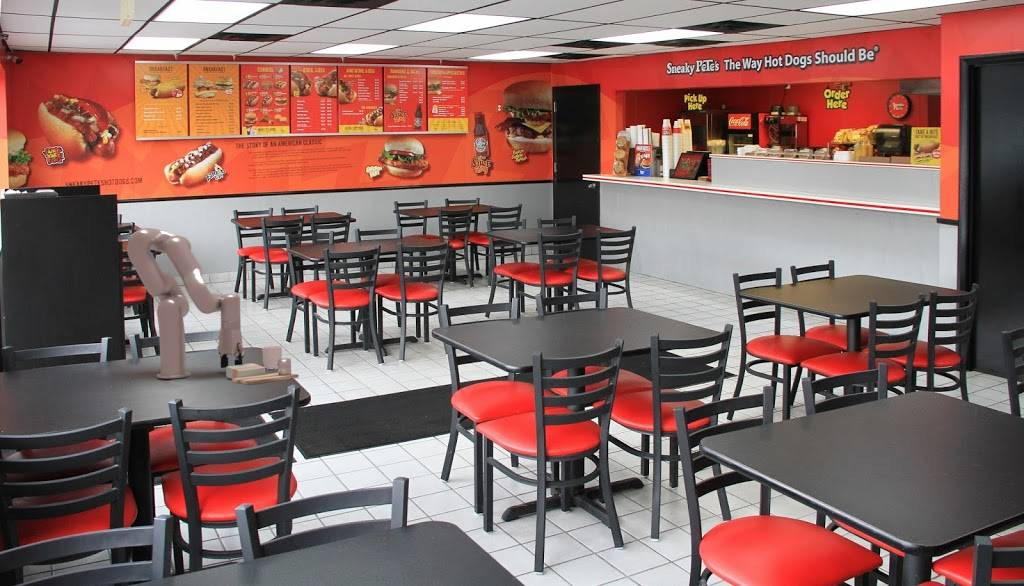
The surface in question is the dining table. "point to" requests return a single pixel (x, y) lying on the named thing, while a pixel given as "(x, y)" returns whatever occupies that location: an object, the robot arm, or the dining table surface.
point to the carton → (244, 370)
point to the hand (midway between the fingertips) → (231, 368)
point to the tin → (284, 367)
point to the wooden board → (263, 378)
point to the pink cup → (271, 356)
